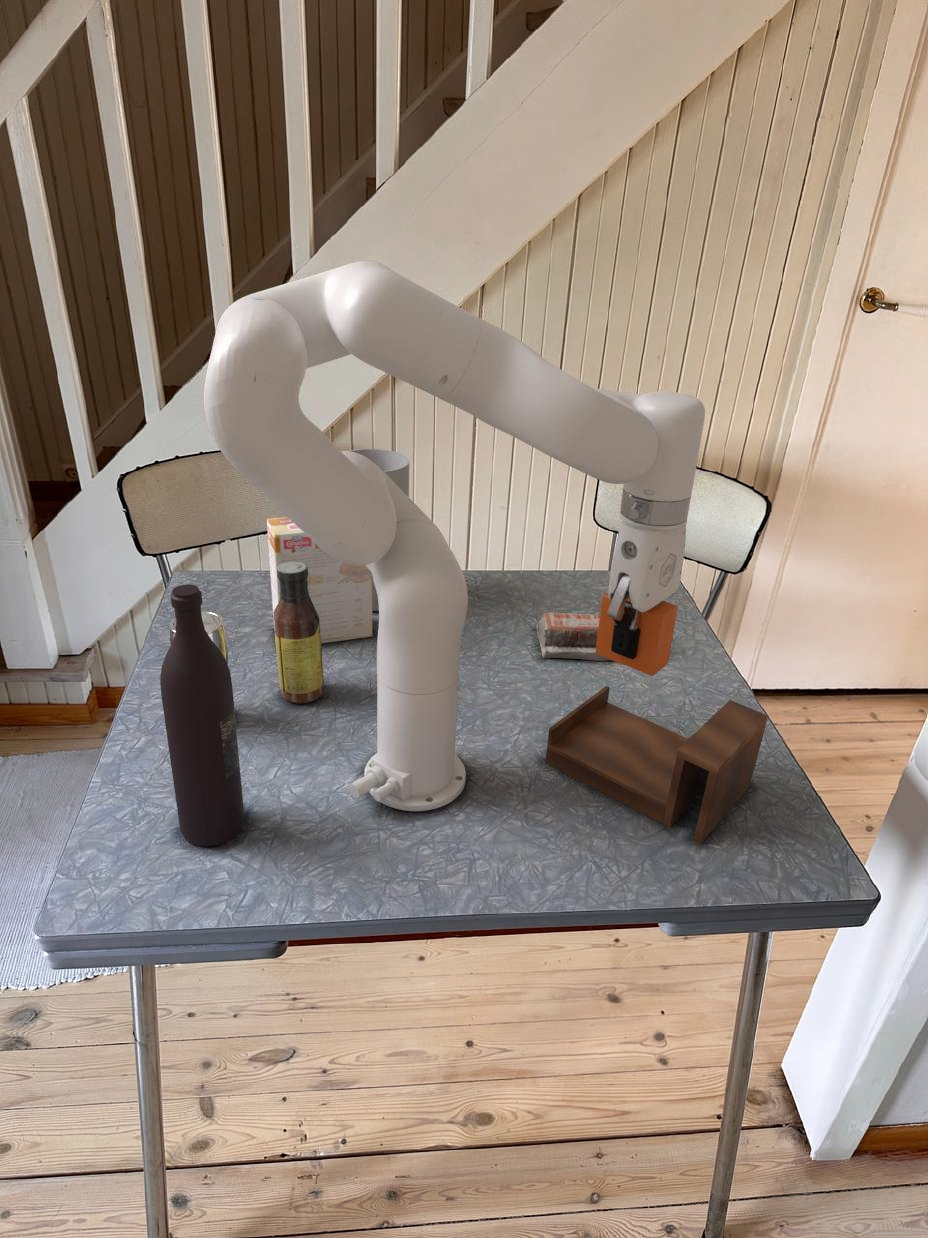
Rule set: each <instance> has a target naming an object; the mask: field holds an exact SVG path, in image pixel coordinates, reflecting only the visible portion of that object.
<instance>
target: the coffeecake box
mask: <svg viewBox="0 0 928 1238" xmlns="http://www.w3.org/2000/svg"><path fill="white" fill-rule="evenodd" d="M266 530H267V544H268V546H267V547H268V559H269V575H270V587H271V588H270V590H271V602H272V615H273V616H272V617H273V619H274V610H275V608H276V606H277V605H278V603H279V600H280V582H279V579H278V577H277V567H278V566H279V565H280V564H282V563H285V562H302V563H304V564H306V565H307V567H308V577H307V582H308V591H309V596H310V598H311V600H312V603H313V605H314V607H315V609H316V612H317V614H318V616H319V620H320V635H321V644H327V643H335V642H342V641H348V640H349V641H351V640H355V639H356V640H357V639H363V638H371V637H373V611H372V573H371V571H370V570H369V569H368V568H367V567H366V566H365V565H362V566H355V565H348V564H345V563H342V562H339V561H337V560H335V559H334V558H332V557H330V556H329V555H327V554H326V553H325V552H324V551H323V550H322V549H320V548H319V547H318V546H317V545H316V544H315V543H314V542H313V541H312V540H311V539H310V538H309V537H308V536H307V535H306V534H305V533H304V532H303V531H302V530H301V529H300V528H299V527H298V526H297V525H296V524H294V523H293V522H292V521H291V520H290V519H289V518H288V517H287V516H284V517H274V518H273V517H272V518H267V519H266ZM273 627H274V628H273V629H274V631H275V624H274V623H273Z"/></svg>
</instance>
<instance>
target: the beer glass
mask: <svg viewBox="0 0 928 1238" xmlns="http://www.w3.org/2000/svg"><path fill="white" fill-rule="evenodd" d="M201 614H202V620H203V624H204V628H205V631H206V632H207V634H208V635H209V637H210V638H211V640H212V641H213V642H214V643H215V645H216V646H217V647H218V648H219V649H220V651H221V653H222V654H223V656H224V657H225V659H226V662H227V665H228V666H229V649H228V648H229V647H228V641H227V636H226V629H225V625H224V619H223V617H222V615H220V614H218V613H217V612H213V611H209V610H201ZM175 632H176V618H175V617H173V618H172V619H171V621H170V622H169V637H170V638H169V639H170V640H169V641H170V645H171V644H172V641H173V638H174V636H175Z"/></svg>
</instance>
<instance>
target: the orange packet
mask: <svg viewBox="0 0 928 1238" xmlns="http://www.w3.org/2000/svg"><path fill="white" fill-rule="evenodd" d="M627 600H629V601H631V599H630V598H629V597H628V599H627ZM610 604H611V601H610V599H609V595H608V592H607V593H605V594H603V595H602V598H601V605H600V613H599V615H600V620H599V628H598V636H597V643H596V651H595V653H596V654H598V655H600V656H603V657H605V658H608V659H610V660H609V661H613V662H615V663H618V664H620V665H623V666H625V667H628V668H631V669H633V670H636V671H638V672H640V673H643V674H646V675H648V676H651V677H653V676H655V675H656V674H658V673H659V672H660V671H661V670H662V669H663V668H665V667H666V666H667V665H668V664H669V659H670V655H671V648H672V642H673V637H674V631H675V626H676V621H677V616H678V615H677V614H678V608H679V605H677V604H674V603H671V602H668V601H664V600H663V601H661V602H660V603H659V604H657V605H656V606H654V607H653V608H651V609H650V610H648V611H646V612H641V616H640V620H639V624H638V629H641V631H640V637H639V644H638V650H637V656H636V658H634V659H630V658H627V657H624V656H622V655H619V654H617V653H614V652H612V650H611V646H612V638H613V631H614V624H613V619H612V618H611V617H609V616H607V611H608V608H609V606H610ZM624 611H625V612H626V613H628V614H630V616H631V617H632V615H633V610H632V609H629V608H626V607H625V608H624Z"/></svg>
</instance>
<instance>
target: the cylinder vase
mask: <svg viewBox="0 0 928 1238" xmlns="http://www.w3.org/2000/svg"><path fill="white" fill-rule="evenodd" d="M348 451H350V452H355V453H358V454H361V455H363V456H365V457H367V458H368V459H370V460H371V461H372V462H374V463H375V464H376V465H377V466H378V467H379V468H380V469H381V470H382V471H383V472H384V473H385V474H386V475H387V476H388V477H389V478H390V479H391V480H392V481H393V482H394V483H395V484H396V485H397V486H398V487H399V488H400V489H401V490H402V491H403V492H404V493H405V494H406V495H407V496H408V497H409V498H410V458H409V457H407V456H406V455H405V454H403V453H400V452H397V451H394V450H389V449H381V448H356V449H350V450H349V449H348ZM372 612H379V603H378V595H377V591H376V588H375V585H374V580H373V576H372Z"/></svg>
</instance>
